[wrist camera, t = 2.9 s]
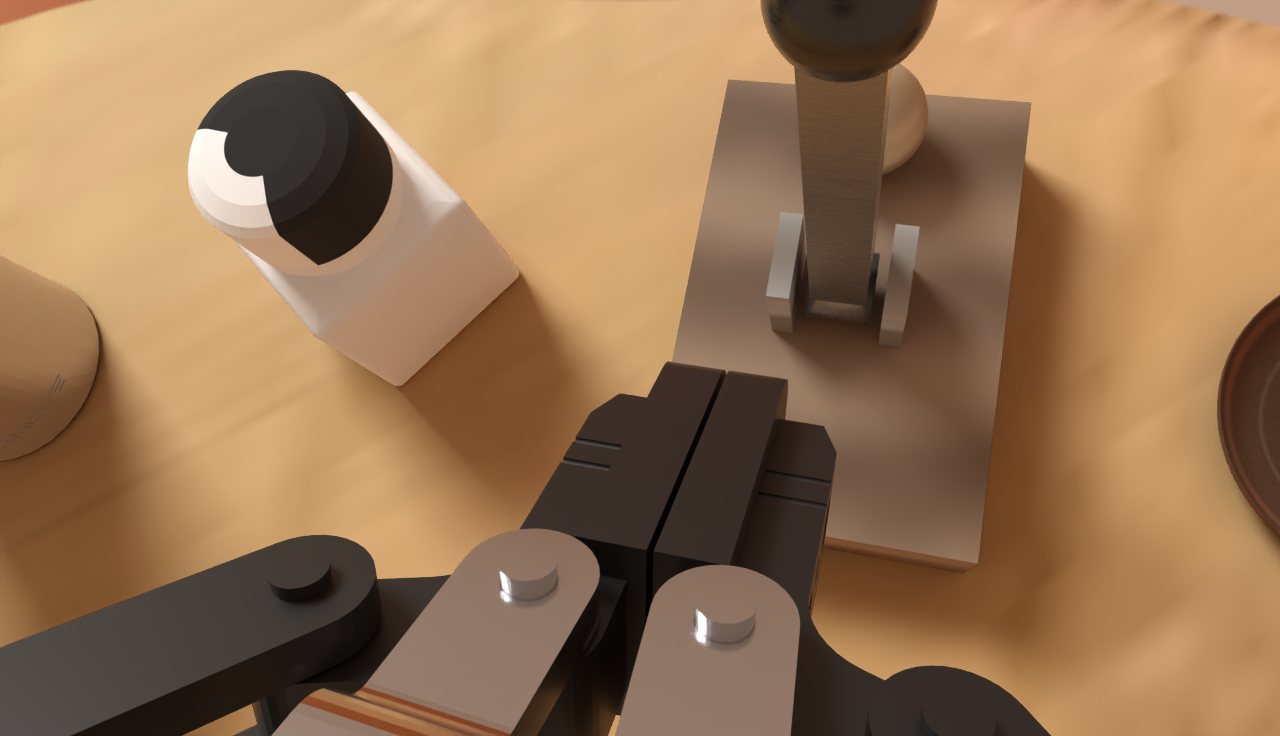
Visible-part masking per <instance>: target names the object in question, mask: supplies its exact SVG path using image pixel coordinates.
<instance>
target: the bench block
mask: <svg viewBox="0 0 1280 736" xmlns="http://www.w3.org/2000/svg"><path fill="white" fill-rule="evenodd" d="M1030 109H1031V103H1028V102H1015V101H1002V100H989V99H976V98H963V97H950V96H937V95H925V93H924V90H923V88H922V86H921V85H920V83H919V81H918V80H917V78H916V77H915V76H914V75H913V74H912V73H911V72H910V71H909V70H908V69H907V68H905V67H904V66H902V65H901V64H897V65H896V66H894V67H893V72H892V82H891V92H890V102H889V112H888V122H887V132H886V142H885V152H884V162H883V172H882V182H881V192H880V202H879V212H878V222H877V232H876V242H875V252H874V253H880V260H879V268H878V275H877V282H876V289H875V296H874V302H873V309H872V315H871V321H870V324H863V323H855V322H848V321H840V320H832V319H825V318H817V317H809V316H804V296H805V287H806V280H807V273H808V264H807V249H806V234H805V219H804V204H803V189H802V174H801V159H800V143H799V128H798V113H797V98H796V85H793V84H780V83H767V82H754V81H741V80H728V84H727V89H726V94H725V99H724V104H723V109H722V114H721V119H720V124H719V129H718V134H717V139H716V144H715V149H714V154H713V159H712V164H711V169H710V174H709V179H708V184H707V189H706V194H705V199H704V204H703V209H702V214H701V219H700V224H699V229H698V235H697V240H696V245H695V250H694V255H693V260H692V265H691V270H690V275H689V280H688V285H687V290H686V295H685V300H684V305H683V310H682V315H681V320H680V325H679V330H678V335H677V340H676V345H675V350H674V355H673V360H672V362H675V363H682V364H689V365H695V366H702V367H708V368H715V369H722V370H725V371H726V375H727V373H728V371H736V372H743V373H750V374H756V375H763V376H770V377H776V378H783V379H788V397H787V407H786V416H785V420H790V421H796V422H803V423H809V424H815V425H821V426H824V427H825V429H826V431H827V433H828V435H829V438H830V440H831V442H832V444H833V446H834V448H835V450H836V452H837V456H836V463H835V471H834V478H833V485H832V492H831V500H830V507H829V514H828V522H827V529H826V536H825V543H824V548H829V549H834V550H840V551H845V552H851V553H856V554H862V555H867V556H873V557H878V558H884V559H889V560H895V561H900V562H906V563H911V564H917V565H922V566H928V567H933V568H939V569H944V570H950V571H955V572H961V573H964V572H966V571H968V570H969V569H971V568H972V567H974V566H975V565H977V564H978V558H979V550H980V541H981V533H982V524H983V515H984V507H985V498H986V489H987V481H988V472H989V464H990V455H991V446H992V438H993V429H994V420H995V412H996V403H997V394H998V386H999V377H1000V369H1001V360H1002V351H1003V343H1004V334H1005V325H1006V317H1007V308H1008V299H1009V291H1010V282H1011V274H1012V265H1013V256H1014V248H1015V239H1016V230H1017V222H1018V213H1019V204H1020V196H1021V187H1022V179H1023V170H1024V161H1025V153H1026V144H1027V135H1028V127H1029V118H1030Z"/></svg>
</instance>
